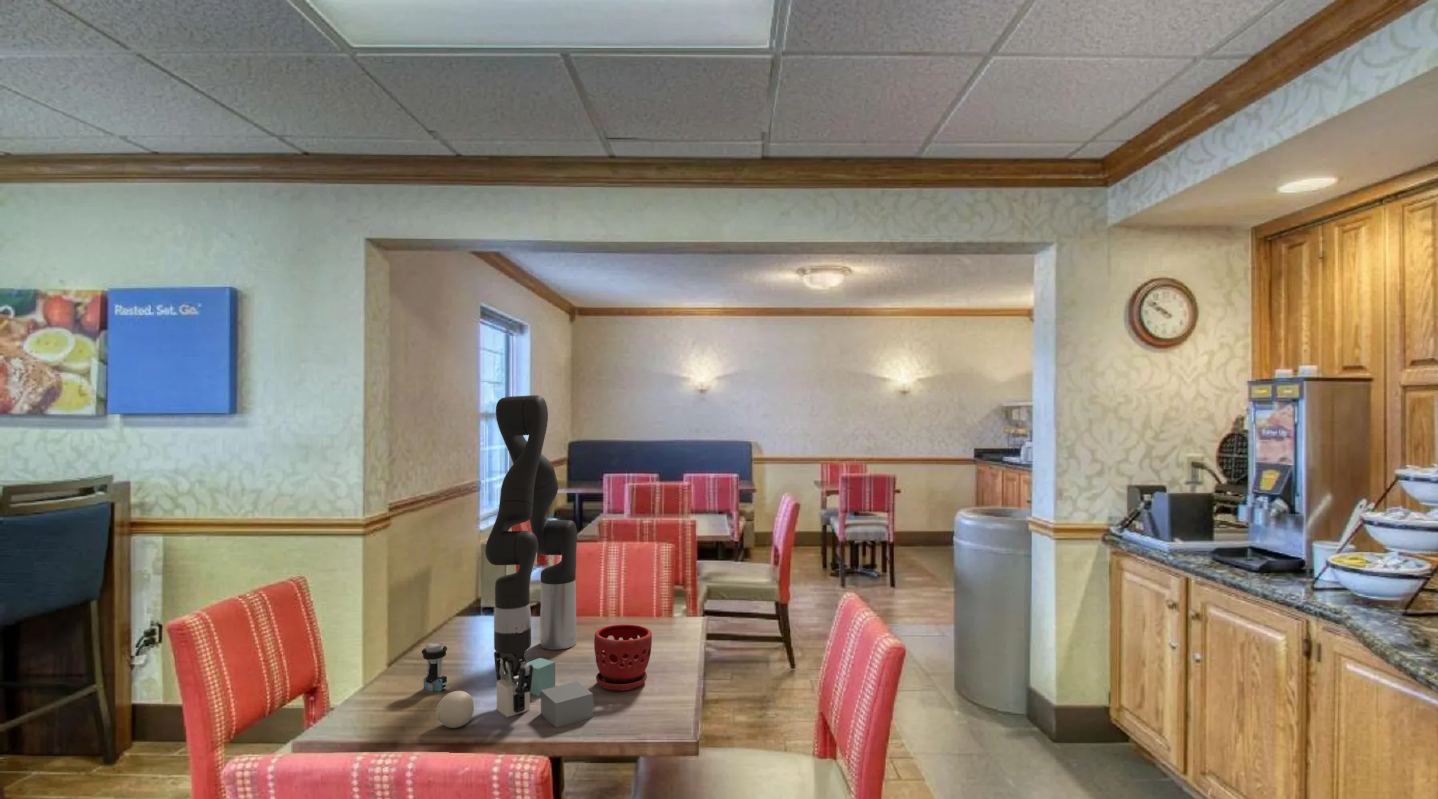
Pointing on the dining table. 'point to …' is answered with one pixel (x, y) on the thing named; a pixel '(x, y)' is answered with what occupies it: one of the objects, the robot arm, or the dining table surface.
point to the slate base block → (566, 704)
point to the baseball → (455, 709)
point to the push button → (435, 667)
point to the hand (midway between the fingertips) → (513, 706)
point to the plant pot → (622, 656)
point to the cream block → (508, 698)
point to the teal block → (542, 675)
